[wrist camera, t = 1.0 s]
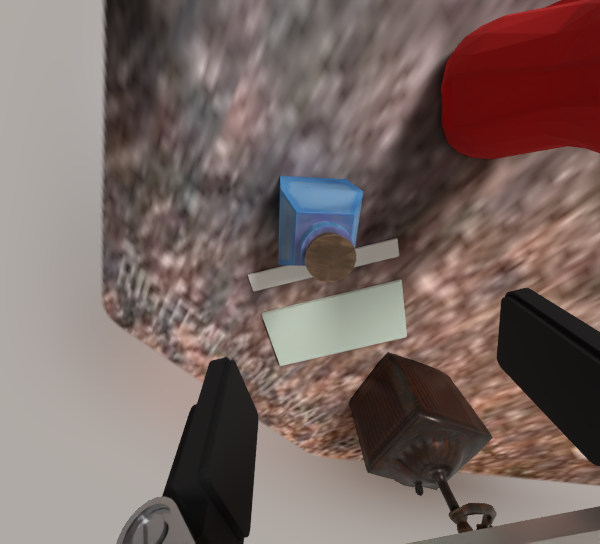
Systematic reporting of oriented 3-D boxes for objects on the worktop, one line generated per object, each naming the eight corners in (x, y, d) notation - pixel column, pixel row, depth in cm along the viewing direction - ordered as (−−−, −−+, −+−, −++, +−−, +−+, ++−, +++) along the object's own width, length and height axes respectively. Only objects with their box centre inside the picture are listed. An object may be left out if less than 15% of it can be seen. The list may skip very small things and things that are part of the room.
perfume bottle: (346, 179, 27) (389, 210, 17) (338, 241, 30) (372, 303, 19) (280, 176, 27) (281, 206, 16) (278, 239, 30) (278, 302, 19)
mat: (261, 312, 33) (261, 314, 33) (400, 279, 32) (401, 281, 32) (280, 363, 37) (280, 366, 36) (405, 334, 36) (406, 336, 36)
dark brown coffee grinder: (344, 406, 41) (386, 586, 25) (387, 349, 37) (472, 520, 21) (430, 432, 45) (516, 603, 29) (478, 384, 41) (610, 550, 24)
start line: (248, 274, 31) (247, 275, 31) (396, 238, 30) (397, 239, 30) (253, 290, 32) (253, 291, 32) (398, 255, 31) (399, 256, 31)
